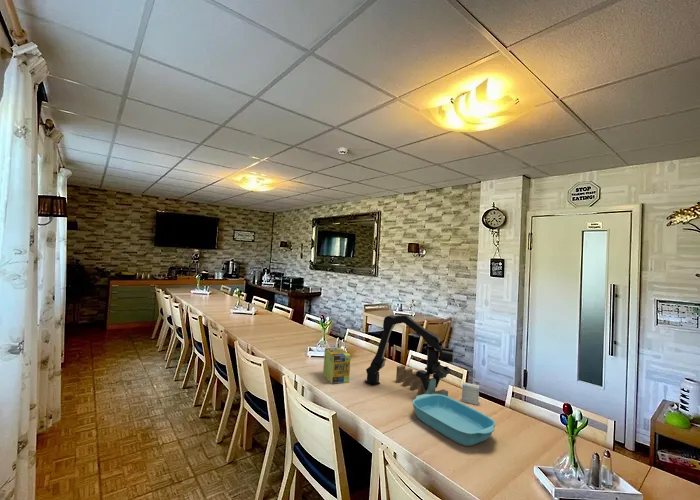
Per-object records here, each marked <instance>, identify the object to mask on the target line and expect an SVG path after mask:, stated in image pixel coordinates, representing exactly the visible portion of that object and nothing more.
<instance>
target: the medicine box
mask: <svg viewBox="0 0 700 500" xmlns="http://www.w3.org/2000/svg"><path fill="white" fill-rule="evenodd" d="M461 386H462V389H461V391H462V392H461V403H467V404H471V405H476V406H479V400H480V399H479V398H480V397H479V396H480V385H479V384H474V383H469V382H465V381H464V382H463V383H462V385H461Z"/></svg>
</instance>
